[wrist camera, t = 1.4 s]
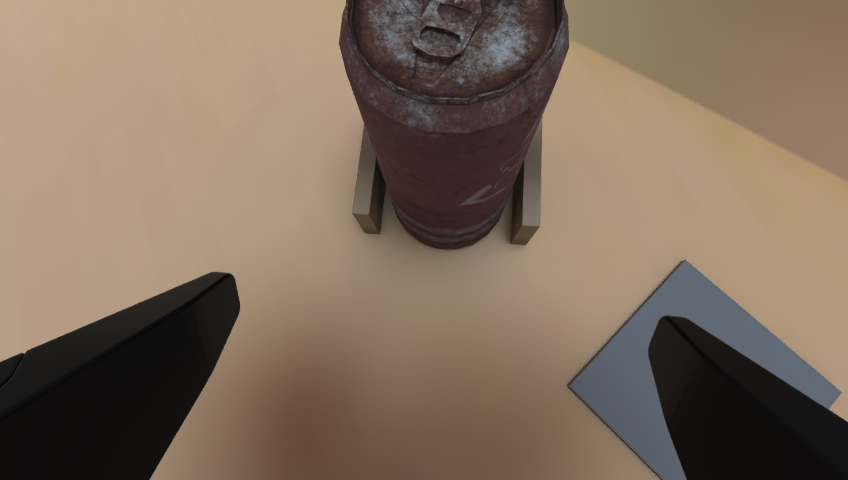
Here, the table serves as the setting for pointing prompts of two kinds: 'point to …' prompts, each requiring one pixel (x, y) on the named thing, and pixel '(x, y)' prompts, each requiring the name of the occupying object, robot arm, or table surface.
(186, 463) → the table surface
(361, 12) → the can
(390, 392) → the table surface
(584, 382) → the mat
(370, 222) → the bracket
